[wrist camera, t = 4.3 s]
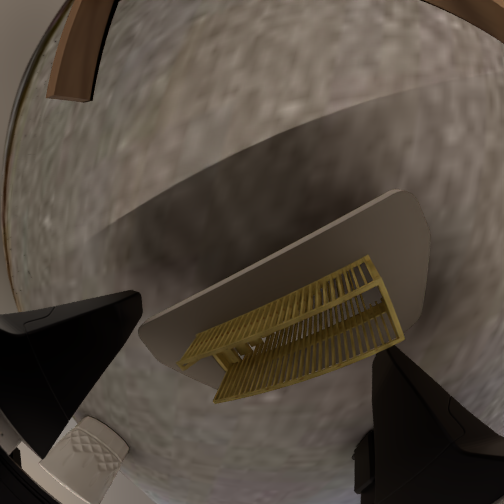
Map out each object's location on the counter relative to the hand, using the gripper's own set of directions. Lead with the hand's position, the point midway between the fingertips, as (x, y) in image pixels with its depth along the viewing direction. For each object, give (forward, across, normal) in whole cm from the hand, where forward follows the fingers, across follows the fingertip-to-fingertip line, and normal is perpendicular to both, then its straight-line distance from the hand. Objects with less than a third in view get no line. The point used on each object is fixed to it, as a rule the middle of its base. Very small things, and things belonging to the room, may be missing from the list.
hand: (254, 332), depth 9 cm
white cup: (+4, +16, +25) cm, 30 cm away
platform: (+4, -1, -1) cm, 4 cm away
